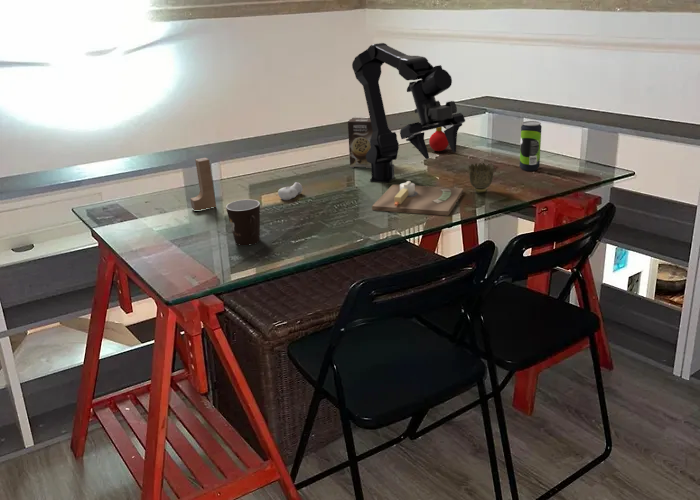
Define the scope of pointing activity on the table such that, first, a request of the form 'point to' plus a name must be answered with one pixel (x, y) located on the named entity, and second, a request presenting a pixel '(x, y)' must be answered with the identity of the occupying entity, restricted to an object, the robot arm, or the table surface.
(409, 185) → the tuner pointer lever
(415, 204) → the tuner board
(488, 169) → the cup
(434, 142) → the christmas ornament
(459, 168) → the table surface
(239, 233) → the coffee mug
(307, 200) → the table surface
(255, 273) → the table surface
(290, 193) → the pale two-lobed sculpture
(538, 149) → the beverage can
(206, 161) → the wooden block
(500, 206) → the table surface
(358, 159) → the coffee box
